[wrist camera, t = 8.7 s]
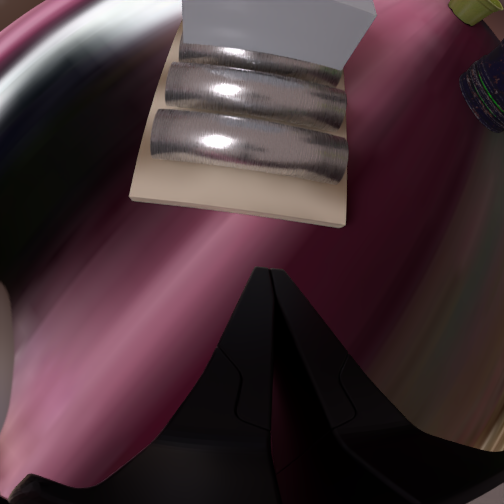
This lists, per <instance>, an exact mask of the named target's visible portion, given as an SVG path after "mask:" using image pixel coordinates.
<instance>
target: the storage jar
mask: <svg viewBox="0 0 504 504" xmlns="http://www.w3.org/2000/svg"><path fill="white" fill-rule="evenodd" d="M459 82H460V88H461V91H462V94H463V96H464V98H465V100H466V102H467V104H468V105H469V107H470V109H471V110H472V112H473V113H474V114H475V116H476V117H477V118H478V119H479V120H480V122H481V123H482V124H483V125H484V126H486V127H487V128H488V129H490V130H491V131H493V132H496V133H500V132H502V131H504V39H503V40H502V41H501V44H500V45H499V46H498V47H497V48H495V49H494V50H493V51H492V52H491V53H489V54H488V55H484V56H483V57H482V58H480V59H479V60H478V61H476V62H475V63H473V64H472V65H471V67H470V68H469V69H468V70H467V72H464V73H463V74H462V75H461V76H460V80H459Z"/></svg>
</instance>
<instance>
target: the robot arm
mask: <svg viewBox="0 0 504 504" xmlns="http://www.w3.org/2000/svg"><path fill="white" fill-rule="evenodd" d="M270 431H271V433H270ZM271 436H272V445H273V455H274V464H275V470H274V465H273V461H272V456H271V442H270V439H271ZM275 473H276V474H275ZM0 504H504V451H500V452H489V451H484V450H480V449H476V448H473V447H469V446H465V445H462V444H459V443H455V442H452V441H449V440H445V439H442V438H439V437H436V436H433V435H430V434H427V433H425V432H423V431H421V430H420V429H418V428H417V427H415V426H414V425H413V424H412V423H411V422H409V421H408V420H407V419H406V418H405V416H404V415H403V414H402V413H401V412H400V411H399V410H398V409H397V408H396V407H395V406H394V405H393V404H392V403H391V402H390V401H389V400H388V398H387V397H386V396H385V395H384V394H383V393H382V392H381V391H380V390H379V389H378V388H377V387H376V386H375V384H374V383H373V382H372V381H371V380H370V379H369V378H368V377H367V375H366V374H365V373H364V372H363V370H362V369H361V368H360V367H359V365H358V364H357V363H356V362H355V360H354V359H353V358H352V356H351V355H350V354H348V351H347V350H346V349H345V347H344V346H343V345H342V344H341V342H340V341H339V340H338V338H337V337H336V336H335V335H334V333H333V332H332V331H331V329H330V328H329V327H328V326H327V324H326V323H325V322H324V320H323V319H322V318H321V316H320V315H319V314H318V313H317V311H316V310H315V309H314V308H313V306H312V305H311V304H310V302H309V301H308V300H307V299H306V297H305V296H304V295H303V293H302V292H301V291H300V290H299V288H298V287H297V286H296V285H295V283H294V282H293V281H292V279H291V278H290V277H289V276H288V274H287V273H286V272H285V271H284V270H282V269H274V268H271V269H268V268H266V267H255V268H254V269H253V271H252V273H251V276H250V278H249V280H248V282H247V284H246V286H245V288H244V290H243V292H242V294H241V297H240V299H239V301H238V303H237V305H236V307H235V309H234V311H233V313H232V315H231V318H230V320H229V322H228V324H227V326H226V328H225V330H224V332H223V334H222V336H221V338H220V340H219V342H218V345H217V347H216V348H215V350H214V352H213V355H212V357H211V359H210V361H209V362H208V364H207V366H206V368H205V370H204V372H203V373H202V375H201V377H200V378H199V380H198V381H197V383H196V384H195V386H194V387H193V389H192V390H191V392H190V393H189V394H188V396H187V397H186V399H185V400H184V401H183V403H182V404H181V406H180V407H179V408H178V410H177V411H176V412H175V414H174V415H173V417H172V418H171V419H170V421H169V422H168V423H167V425H166V426H165V427H164V429H163V430H162V431H161V432H160V433H159V435H158V436H157V437H156V438H155V439H154V440H153V441H152V442H151V443H150V444H149V445H148V446H147V447H145V448H144V449H143V450H142V451H141V452H139V453H138V454H137V455H136V456H134V457H133V458H132V459H131V460H129V461H128V462H127V463H126V464H124V465H123V466H122V467H120V468H119V469H118V470H117V471H115V472H114V473H113V474H111V475H110V476H109V477H107V478H106V479H105V480H104V481H102V482H100V483H99V484H97V485H95V486H91V487H87V488H75V487H70V486H67V485H64V484H61V483H58V482H55V481H53V480H50V479H47V478H44V477H42V476H39V475H35V474H28V475H27V476H26V477H25V478H24V479H23V480H22V481H21V482H20V483H19V484H18V485H17V486H16V487H15V489H14V490H13V491H12V493H11V494H10V496H9V498H8V499H7V498H5V497H3V496H1V495H0Z"/></svg>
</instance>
